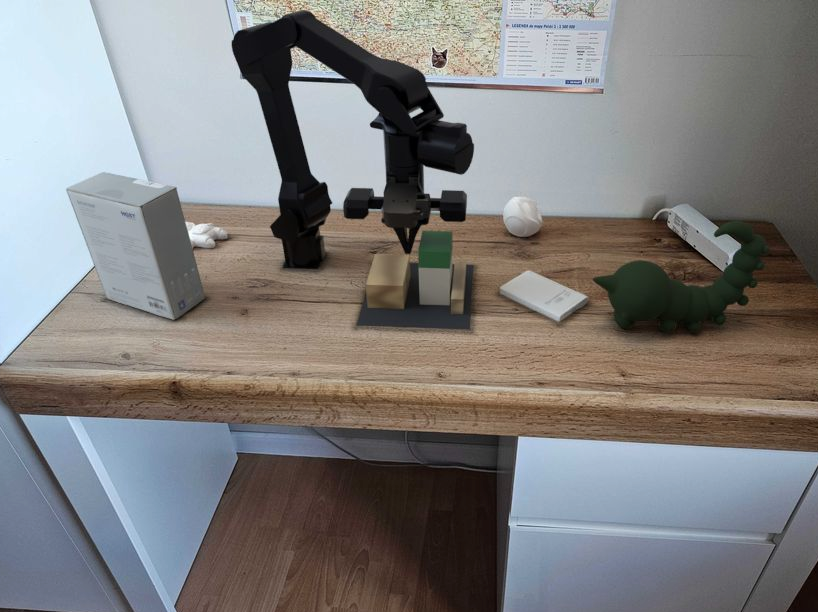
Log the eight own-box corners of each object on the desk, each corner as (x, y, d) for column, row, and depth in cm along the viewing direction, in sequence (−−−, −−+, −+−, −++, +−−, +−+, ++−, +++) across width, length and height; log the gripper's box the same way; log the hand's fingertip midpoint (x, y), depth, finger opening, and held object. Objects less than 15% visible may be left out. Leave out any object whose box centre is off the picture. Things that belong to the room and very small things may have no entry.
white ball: (542, 244, 128) (546, 207, 123) (503, 244, 128) (505, 206, 123) (538, 225, 134) (542, 189, 129) (501, 225, 134) (503, 188, 129)
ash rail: (450, 314, 108) (450, 298, 106) (454, 275, 118) (454, 260, 116) (463, 314, 108) (463, 299, 106) (466, 276, 118) (466, 261, 116)
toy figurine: (718, 313, 112) (574, 307, 109) (761, 209, 101) (601, 200, 98) (742, 346, 105) (588, 341, 102) (790, 239, 93) (618, 229, 91)
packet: (394, 292, 109) (424, 239, 103) (399, 270, 115) (428, 219, 109) (443, 315, 111) (475, 265, 105) (445, 292, 117) (477, 244, 111)
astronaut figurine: (204, 255, 124) (200, 240, 122) (154, 242, 128) (150, 228, 126) (234, 235, 130) (231, 220, 128) (186, 223, 134) (182, 209, 132)
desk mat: (356, 327, 106) (356, 325, 106) (375, 263, 122) (374, 261, 122) (469, 331, 105) (469, 329, 105) (473, 266, 121) (473, 264, 121)
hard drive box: (208, 298, 112) (179, 187, 100) (175, 322, 107) (140, 207, 95) (138, 277, 118) (103, 169, 105) (104, 299, 112) (62, 187, 100)
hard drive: (528, 277, 118) (587, 303, 112) (498, 295, 113) (558, 324, 107) (529, 269, 117) (588, 295, 111) (499, 287, 112) (559, 315, 106)
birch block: (367, 307, 110) (365, 284, 107) (376, 276, 118) (374, 253, 115) (404, 309, 109) (402, 285, 107) (410, 277, 117) (409, 254, 114)
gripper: (331, 180, 93) (342, 277, 103) (464, 184, 92) (463, 280, 102) (345, 151, 102) (354, 242, 111) (467, 154, 101) (466, 245, 111)
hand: (408, 253), depth 109 cm, fingers closed
